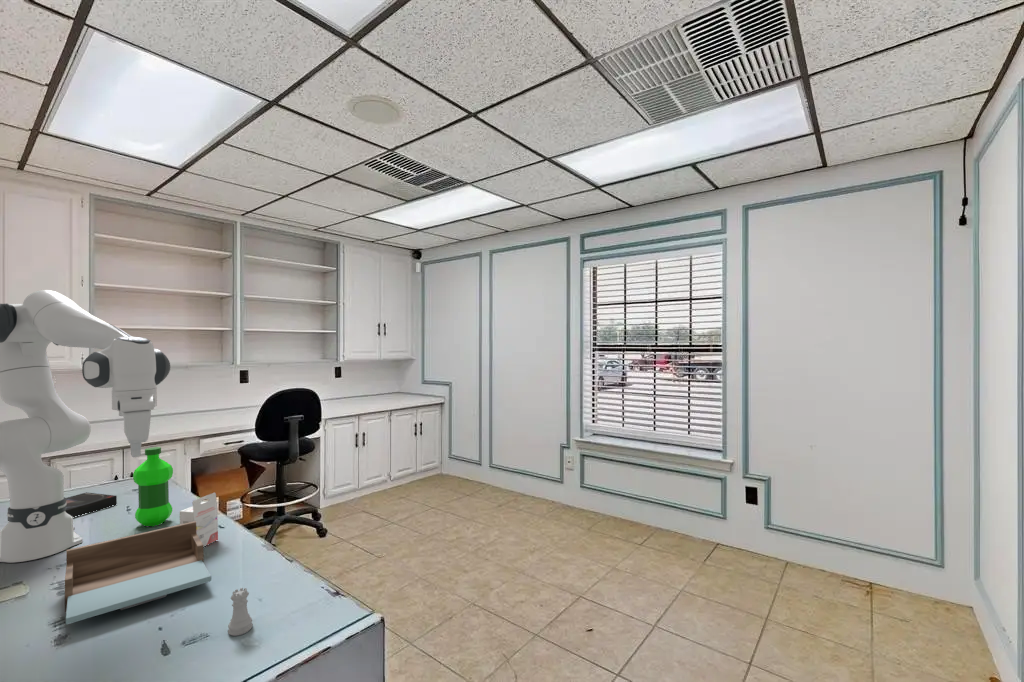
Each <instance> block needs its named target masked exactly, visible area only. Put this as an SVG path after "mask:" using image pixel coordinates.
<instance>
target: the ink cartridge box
mask: <svg viewBox="0 0 1024 682" xmlns="http://www.w3.org/2000/svg"><path fill="white" fill-rule="evenodd" d="M204 500H205V501H204ZM206 500H207V501H206ZM191 503H192V506H189V507H187V508H185V509H182V510H179V525H180V524H184V523H189V522H193V521H196V533H197V535H198V537H199V538H200V540H201V542H202V544H203V547H204V546H206V545H208V544H210V543H212V542H214V541H216V540H219V530H218V529H219V527H218V526H219V525H218V524H219V523H218V521H219V519H218V502H217V494H216V492H213V493H209V494H207V495H205V496H202V497H200V498H197V499H195V500H192V502H191ZM216 542H217V541H216ZM214 543H215V542H214ZM212 544H213V543H212ZM210 545H211V544H210ZM208 546H209V545H208ZM206 547H207V546H206ZM204 548H205V547H204Z"/></svg>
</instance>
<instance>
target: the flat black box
mask: <svg viewBox="0 0 1024 682" xmlns="http://www.w3.org/2000/svg"><path fill="white" fill-rule="evenodd" d="M117 497H118V496H117V495H113V494H104V493H95V492H83V493H79V494H76V495H75V494H74V495H72V496H68V497H65V498H66V502H67V505H66V510H65V511H66V513H67V514H69V515H71V516H72V517H75V516H78V515H82V514H85V513H89V512H93V511H96V510H99V511H101V510H100V509H103V508H106V507H109V506H112V505H116V504H118V501H117V499H118V498H117ZM116 506H117V505H116ZM112 507H113V506H112ZM109 508H110V507H109ZM106 509H107V508H106ZM103 510H104V509H103ZM96 512H97V511H96ZM93 513H94V512H93ZM89 514H90V513H89Z"/></svg>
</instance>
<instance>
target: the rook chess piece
mask: <svg viewBox="0 0 1024 682" xmlns="http://www.w3.org/2000/svg"><path fill="white" fill-rule="evenodd" d="M249 594H250V592H249V591H248V589H247V587H244V588H243V587H240V588H237V589H236V588H235V590H234V591H233V592H232V595H231V597H230V599H231V601H232V604H231V606H232V608H233V609H232V615H231V618H230V622H229V623H228V626H227V628H228V630H227V633H228V634H229V635H230V636H232V637H238V636H242V635H244V634H246V633H248V632H249V631H250V630H251V629H252V627H253V625H254V624H253V618H252V617H251V615H250V613H249V611H248V602H249V601H248V599H247V598H248V596H249Z"/></svg>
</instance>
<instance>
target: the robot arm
mask: <svg viewBox="0 0 1024 682" xmlns="http://www.w3.org/2000/svg"><path fill="white" fill-rule="evenodd" d="M51 343H53V344H54V345H55V346H57V347H59V346H61V347H68V348H83V349H97V350H98V351H93V352H92V353H90V354H89V355H87V357H86V358H85V359H84V360H83V363H82V366H81V367H82V368H81V370H82V371H81V373H82V377H83V380H84V381H85V382H86V383H87V384H89V385H90V386H92V387H93V388H99V389H108V388H109V389H110V388H111V409H112V410H113V411H117V412H118V417H123V431H124V434H125V437H126V439H127V441H128V444H130V446H129V447H130V455H131V457H132V458H137V457H138V458H139V457H140V456H141V455H142V454H141V453H142V443H146V442H148V440H149V436H150V427H151V419H152V418H151V417H152V410H155V407H157V406H158V402H157V401H158V399H157V398H158V394H157V389H158V388H157V387H158V385H159V384H161V383H162V382H163V381H164V380H165V379H166V378H167V377H168V375H169V374H170V371H171V362H170V360H169V358H168V357H167V355H166V354H165V353H164V352H163V351H162V350H160V349H158V348H155V346H154V344H153V342H152V340H150V339H148V338H146V337H141V336H132V335H131V334H129V333H127V332H126V331H124V330H123V329H121V328H120V327H118V326H115V325H113V324H111V323H108V322H106V321H104V320H103V319H101V318H98V317H96V316H95V315H93V314H92V313H90V312H88V311H87V310H85V309H84V308H83V307H81V306H80V305H79V304H78V303H76V301H74V300H72V299H71V298H69V297H68V296H66V295H64V294H62V293H60V292H58V291H55V290H50V289H41V290H37V291H34V292H32V293H30V294H29V295H28V296H26V297H25V299H24V300H23V301H22V303H0V398H1V400H2V402H4V403H5V404H7V405H9V406H12V407H15V408H18V409H20V410H21V411H23V412H25V414H26V415H27V417H26V418H18V419H17V418H16V419H10V420H4V421H1V422H0V471H2V473H3V475H4V476H5V478H6V481H7V484H8V495H9V506H8V508H7V512H6V516H7V521H8V522H7V524H6V525H5V526H4V527H2V529H1V530H0V563H11V564H12V563H20V562H21V563H22V562H27V561H33V560H38V559H42V558H46V557H49V556H53V555H54V554H55V555H56V554H58V553H60V552H63V551H66V550H68V549H69V548H71V547H73V546H76V545H79V544H81V543H83V542H84V541H83V538H82V537H81V536H80V534H78V533H76V532H75V526H74V518H73V517H72V516H71V515H69V514H67V513H66V511H65V510H66V505H67V502H66V498H67V497H65V484H64V483H65V481H64V480H65V479H64V476H65V475H64V473H63V471H61V470H60V469H59V468H57V467H54V466H50V465H45V464H44V462H43V460H42V455H44V454H48V453H53V452H59V451H64V450H68V449H71V448H73V447H76V446H79V445H80V444H84V443H85V442H86V441H87V440H88V438H89V437H90V434H91V431H92V427H91V423H90V421H89V420H88V418H87V417H85V416H84V415H82V414H80V413H79V412H76V411H74V410H72V409H71V408H70V407H69V406H67V405H66V403H65V402H64V401H63V400H62V399H61V397H60V395H59V394H58V392H57V390H56V386H55V383H54V379H53V374H52V369H51V365H50V361H49V357H48V354H47V352H48V351H47V347H48V346H49V345H50V344H51Z"/></svg>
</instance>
